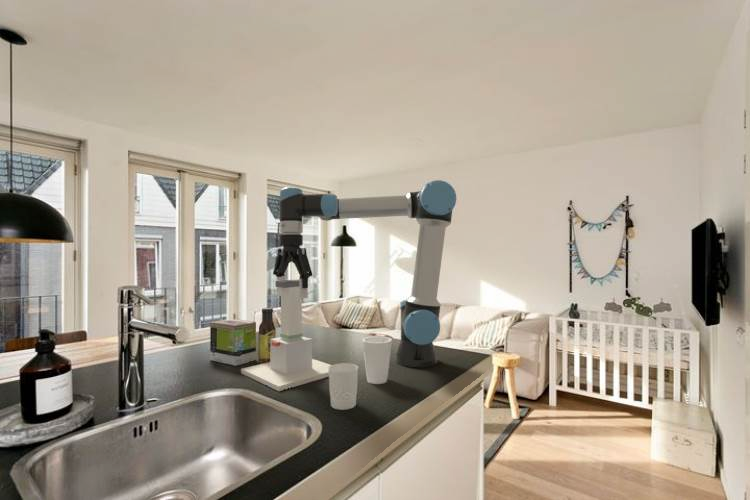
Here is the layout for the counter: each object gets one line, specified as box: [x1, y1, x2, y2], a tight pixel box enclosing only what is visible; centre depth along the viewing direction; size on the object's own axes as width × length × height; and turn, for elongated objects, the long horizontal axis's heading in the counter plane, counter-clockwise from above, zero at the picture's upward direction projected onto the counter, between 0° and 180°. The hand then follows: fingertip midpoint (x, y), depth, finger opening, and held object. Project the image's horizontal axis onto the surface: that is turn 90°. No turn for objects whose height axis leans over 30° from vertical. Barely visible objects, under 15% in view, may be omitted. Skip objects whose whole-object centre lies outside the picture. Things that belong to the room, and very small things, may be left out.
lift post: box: [275, 279, 304, 342], centre depth 128 cm, size 5×9×22 cm, turn 135°
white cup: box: [328, 362, 359, 411], centre depth 101 cm, size 8×8×10 cm
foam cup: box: [361, 335, 393, 385], centre depth 120 cm, size 10×9×13 cm
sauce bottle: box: [257, 307, 277, 364], centre depth 141 cm, size 7×6×20 cm
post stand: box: [240, 336, 332, 392], centre depth 128 cm, size 24×24×12 cm
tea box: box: [209, 318, 257, 367], centre depth 143 cm, size 15×10×15 cm, turn 58°
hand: (292, 296), depth 128 cm, fingers open, 13 cm apart
